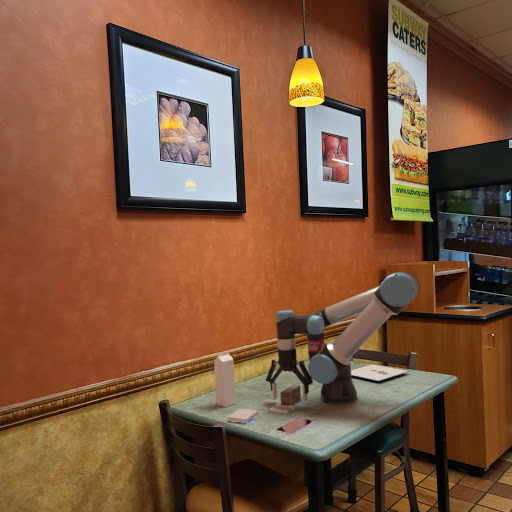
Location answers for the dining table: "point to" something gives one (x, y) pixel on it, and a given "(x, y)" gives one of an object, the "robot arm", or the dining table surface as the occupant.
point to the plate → (368, 374)
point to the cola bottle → (314, 344)
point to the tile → (242, 415)
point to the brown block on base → (287, 400)
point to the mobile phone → (294, 426)
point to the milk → (224, 379)
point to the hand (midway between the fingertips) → (290, 400)
